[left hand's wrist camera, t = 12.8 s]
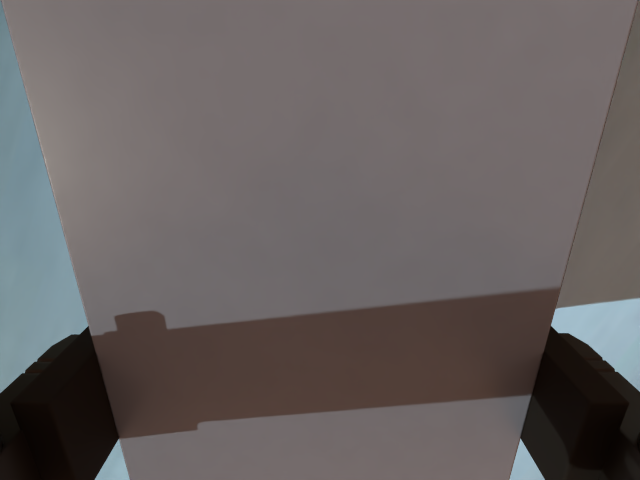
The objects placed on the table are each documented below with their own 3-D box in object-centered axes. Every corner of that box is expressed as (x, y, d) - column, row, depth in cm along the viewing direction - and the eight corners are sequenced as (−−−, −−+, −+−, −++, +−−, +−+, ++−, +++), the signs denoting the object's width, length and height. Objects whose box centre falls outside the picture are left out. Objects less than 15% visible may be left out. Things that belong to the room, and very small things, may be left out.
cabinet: (184, -36, 14) (-81, -294, 5) (455, -36, 14) (719, -292, 5) (223, 326, 20) (141, 525, 11) (415, 326, 20) (497, 525, 11)
